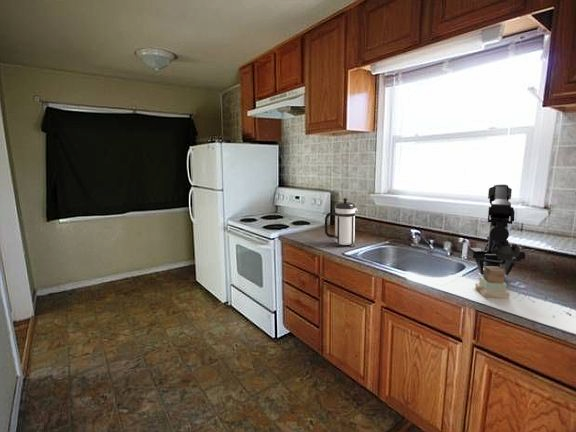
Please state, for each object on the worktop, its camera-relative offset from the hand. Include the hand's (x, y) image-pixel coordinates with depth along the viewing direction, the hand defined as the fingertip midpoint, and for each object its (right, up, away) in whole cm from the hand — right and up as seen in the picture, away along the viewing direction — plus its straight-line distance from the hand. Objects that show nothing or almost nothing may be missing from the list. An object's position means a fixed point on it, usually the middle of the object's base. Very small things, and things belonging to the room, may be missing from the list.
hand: (493, 274), depth 125 cm
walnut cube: (0, -3, +1) cm, 3 cm away
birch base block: (0, -8, +2) cm, 9 cm away
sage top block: (0, -5, +2) cm, 6 cm away
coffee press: (-47, +4, +76) cm, 89 cm away
